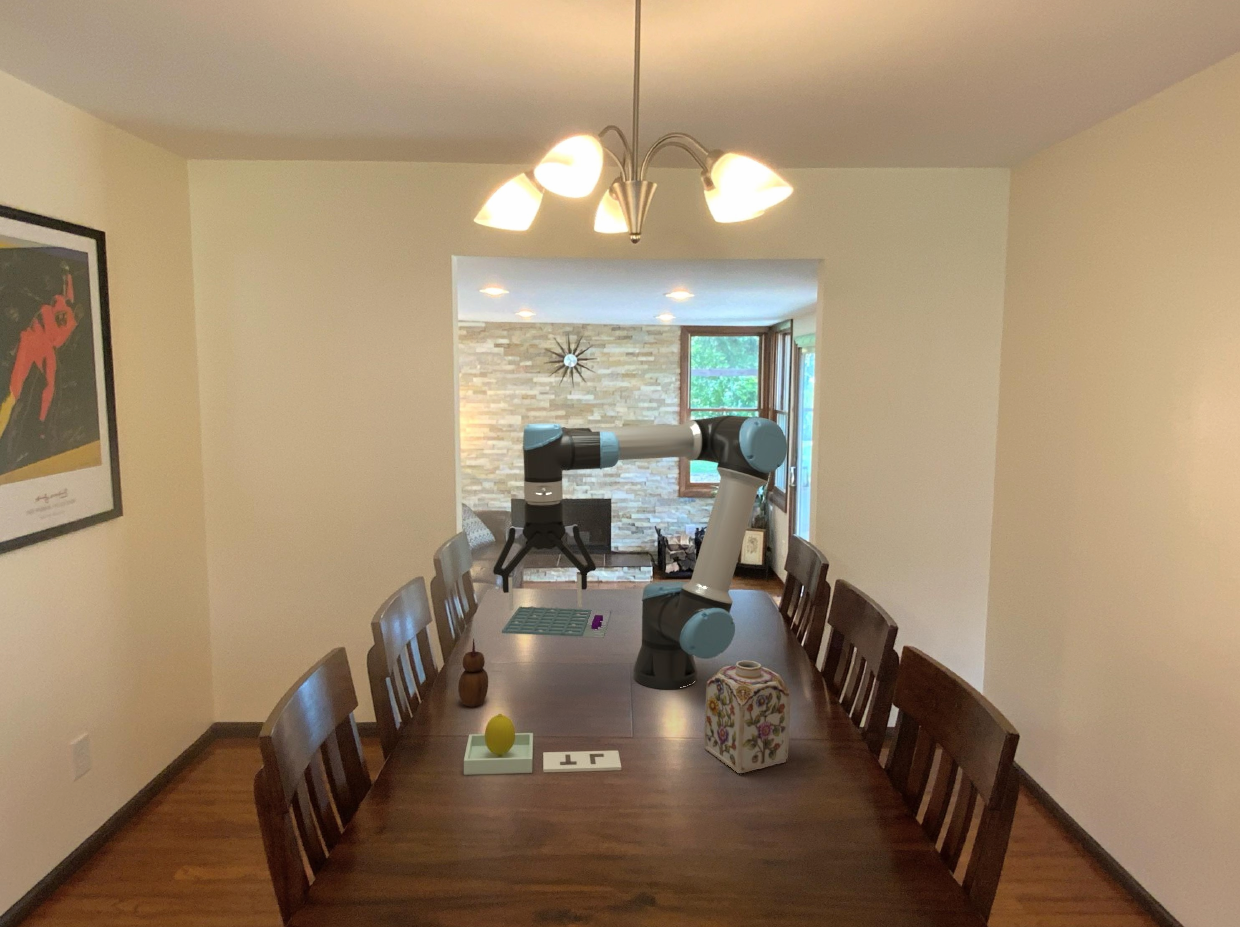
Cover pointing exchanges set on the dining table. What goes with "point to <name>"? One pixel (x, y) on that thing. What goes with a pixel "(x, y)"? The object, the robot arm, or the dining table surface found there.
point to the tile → (581, 761)
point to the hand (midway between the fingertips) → (545, 606)
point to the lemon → (500, 734)
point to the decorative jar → (747, 716)
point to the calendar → (554, 622)
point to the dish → (490, 763)
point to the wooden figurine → (473, 679)
